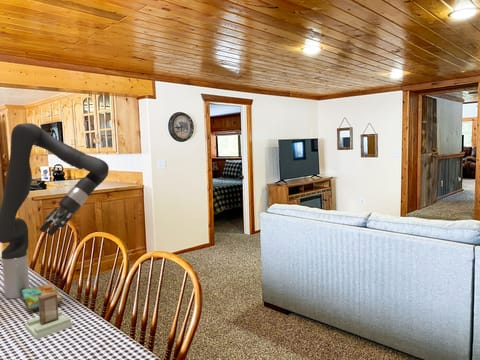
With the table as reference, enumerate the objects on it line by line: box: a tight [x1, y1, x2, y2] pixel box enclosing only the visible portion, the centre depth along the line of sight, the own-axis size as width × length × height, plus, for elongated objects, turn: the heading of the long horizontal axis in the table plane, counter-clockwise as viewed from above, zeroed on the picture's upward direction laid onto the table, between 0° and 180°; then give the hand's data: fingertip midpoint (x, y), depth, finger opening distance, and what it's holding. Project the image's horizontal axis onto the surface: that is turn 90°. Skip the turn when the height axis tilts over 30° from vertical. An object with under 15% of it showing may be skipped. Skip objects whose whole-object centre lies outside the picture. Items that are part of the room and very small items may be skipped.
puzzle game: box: [22, 282, 63, 311], centre depth 149 cm, size 12×5×20 cm
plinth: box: [24, 309, 74, 340], centre depth 128 cm, size 11×12×3 cm
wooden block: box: [38, 292, 59, 325], centre depth 128 cm, size 4×5×10 cm
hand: (45, 232), depth 140 cm, fingers open, 8 cm apart
